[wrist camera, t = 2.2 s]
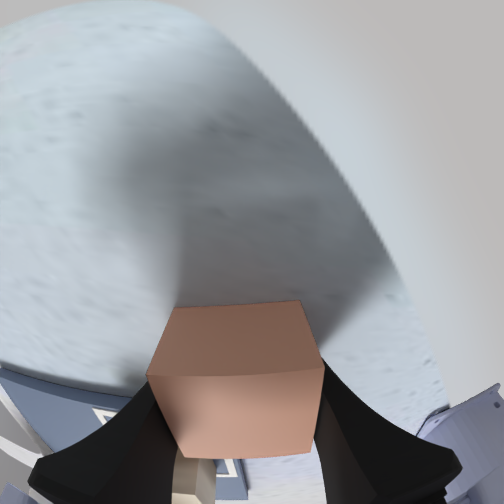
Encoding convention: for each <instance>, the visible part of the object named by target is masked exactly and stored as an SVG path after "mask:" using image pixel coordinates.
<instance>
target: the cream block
mask: <svg viewBox="0 0 504 504" xmlns="http://www.w3.org/2000/svg"><path fill="white" fill-rule="evenodd" d="M216 473H217V469H216V466H215V464H214V462H213V459H207V458H188V457H184V455H183V453H182V451H181V450H180V448H179V446H178V450H177V454H176V459H175V464H174V472H173V485H172V504H215V491H216Z"/></svg>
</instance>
